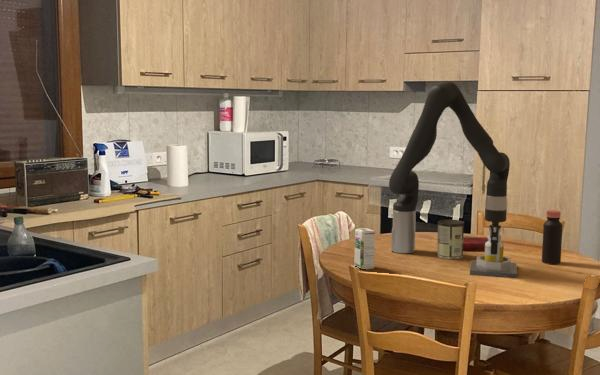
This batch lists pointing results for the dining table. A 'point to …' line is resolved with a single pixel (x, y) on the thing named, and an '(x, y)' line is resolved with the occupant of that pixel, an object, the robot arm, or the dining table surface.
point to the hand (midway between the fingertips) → (494, 251)
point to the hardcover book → (474, 243)
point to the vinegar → (552, 238)
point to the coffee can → (450, 239)
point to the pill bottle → (493, 257)
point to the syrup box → (364, 248)
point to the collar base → (493, 267)
